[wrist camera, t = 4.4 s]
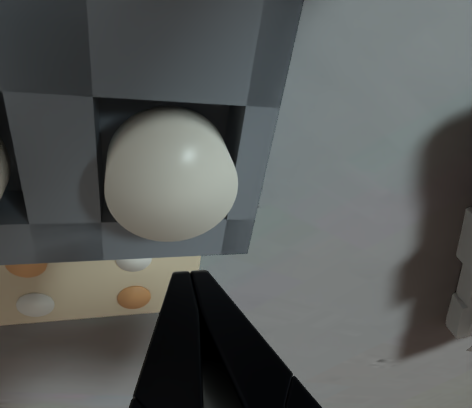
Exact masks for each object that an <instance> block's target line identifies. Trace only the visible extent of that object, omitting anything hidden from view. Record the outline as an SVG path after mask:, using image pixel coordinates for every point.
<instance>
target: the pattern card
mask: <svg viewBox="0 0 472 408" xmlns="http://www.w3.org/2000/svg"><path fill="white" fill-rule="evenodd" d="M200 259H201V256H186V257H165V258H143V259H122V260H101V261H80V262H59V263H38V264H17V265H0V326H3V325H15V324H27V323H38V322H50V321H62V320H74V319H85V318H97V317H109V316H121V315H133V314H144V313H156V312H160V310H161V307H162V304H163V301H164V298H165V294H166V291H167V288H168V285H169V282H170V279H171V276H172V273H173V272H176V271H189V273H190V272H191V271H195V270H199V266H200Z"/></svg>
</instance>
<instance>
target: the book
mask: <svg viewBox="0 0 472 408" xmlns="http://www.w3.org/2000/svg"><path fill="white" fill-rule="evenodd" d="M456 256H457V257H458V259H459V260H460V261H461V262H462V263H463V265H462V269H461V273H460V278H459V282H458V286H457V290H456V293H453V294H452V298H451V302H450V306H449V309H448V313H447V318H446V324H445V325H446V326H447V328H448V329H449V330H450V331H451V333H452V334H453V335H454V336H455V338H456V339H460V338H464V337H468V336H472V206H471V207H468V208H466V211H465V216H464V220H463V225H462V230H461V234H460V239H459V243H458V248H457V253H456ZM466 351H472V346H471V347H470V348H469V349H468V350H466Z"/></svg>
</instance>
